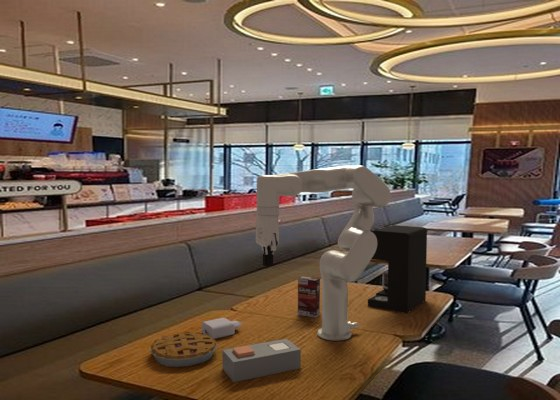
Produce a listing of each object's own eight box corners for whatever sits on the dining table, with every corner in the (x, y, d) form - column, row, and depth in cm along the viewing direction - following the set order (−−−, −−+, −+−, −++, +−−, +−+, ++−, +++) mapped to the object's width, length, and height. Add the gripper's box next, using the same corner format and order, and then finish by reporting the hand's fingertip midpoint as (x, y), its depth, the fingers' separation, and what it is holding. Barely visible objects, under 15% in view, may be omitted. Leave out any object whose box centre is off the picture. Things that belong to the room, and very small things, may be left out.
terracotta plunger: (248, 364, 143) (248, 345, 142) (254, 370, 138) (254, 351, 138) (232, 367, 140) (232, 348, 140) (238, 373, 136) (238, 353, 136)
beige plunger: (282, 360, 148) (282, 342, 147) (289, 366, 143) (289, 347, 143) (268, 363, 146) (268, 345, 145) (275, 369, 141) (275, 350, 141)
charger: (248, 332, 175) (212, 340, 166) (236, 325, 182) (201, 333, 174) (248, 320, 174) (212, 327, 166) (236, 313, 182) (201, 321, 173)
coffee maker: (390, 292, 231) (391, 223, 228) (429, 298, 219) (430, 226, 217) (366, 305, 208) (367, 229, 206) (408, 313, 197) (409, 232, 194)
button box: (286, 356, 151) (286, 338, 151) (300, 368, 142) (300, 349, 142) (222, 368, 142) (222, 350, 141) (233, 382, 133) (233, 362, 132)
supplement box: (297, 315, 194) (297, 278, 193) (301, 312, 199) (301, 276, 198) (316, 317, 191) (317, 280, 190) (320, 314, 195) (320, 277, 194)
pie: (155, 374, 138) (155, 358, 138) (146, 348, 158) (145, 334, 158) (225, 362, 147) (225, 347, 147) (208, 339, 167) (207, 326, 167)
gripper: (249, 210, 159) (249, 262, 160) (266, 214, 146) (266, 271, 147) (269, 209, 162) (269, 260, 164) (287, 213, 149) (287, 269, 150)
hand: (268, 265), depth 155 cm, fingers closed
